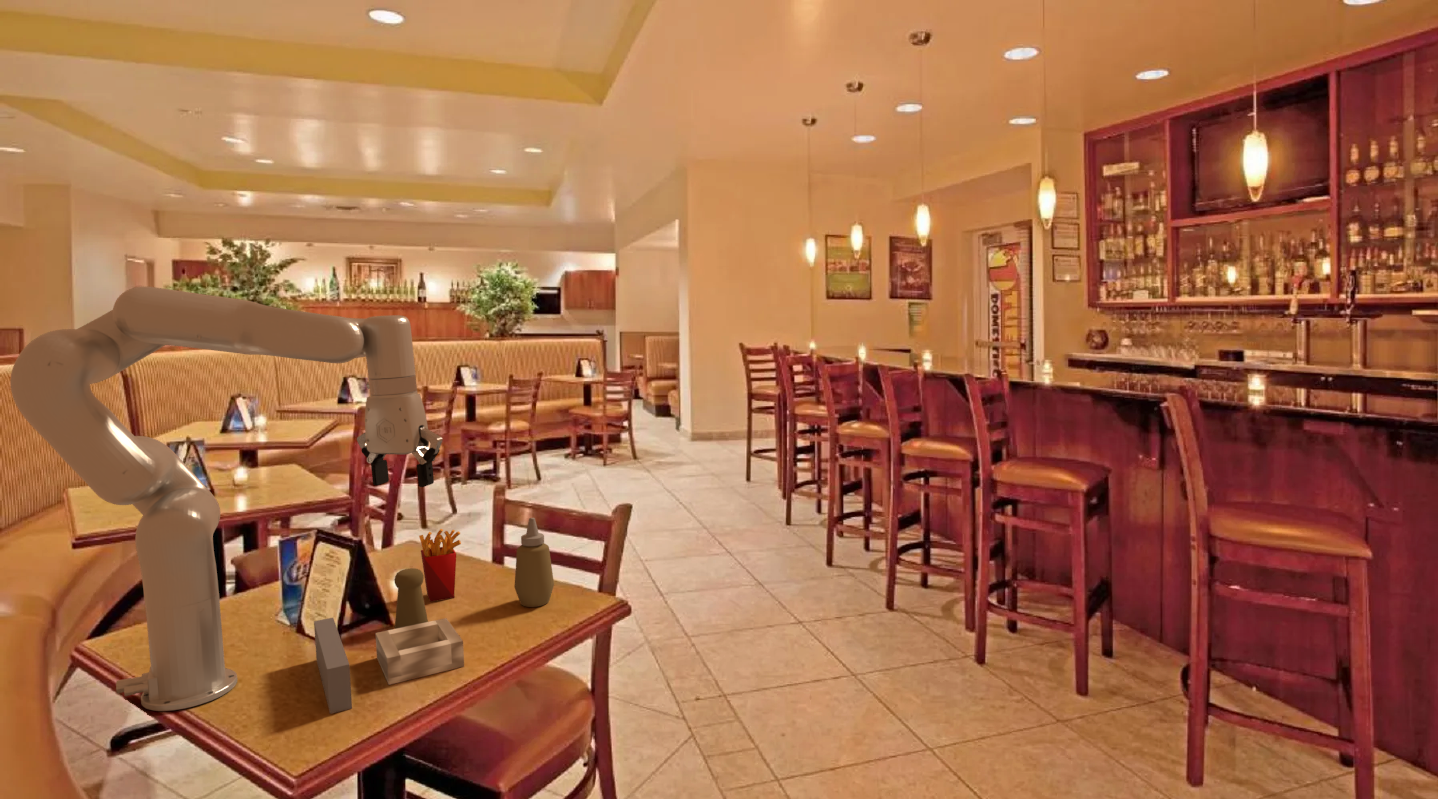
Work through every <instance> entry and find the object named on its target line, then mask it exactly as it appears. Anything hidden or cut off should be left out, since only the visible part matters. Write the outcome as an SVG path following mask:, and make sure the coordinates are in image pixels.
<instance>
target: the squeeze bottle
mask: <svg viewBox="0 0 1438 799" xmlns="http://www.w3.org/2000/svg"><path fill="white" fill-rule="evenodd" d="M520 543H521V545H519V546H518V547H517V548H516V557H515V559H516V560H515V572H514V573H515V575H514V591H515V592H516V595H517V598H518V600H519V603H520V605H521V606H523V607H527V608H532V607H533V608H534V607H541V606H544V605H546V604H548V603H549V601H551V600H550V599H551V597H552V593H553V589H554V587H555V582H554V575H553V574H554V573H553V568H552V566H553V565H552V559H551V553H550V552H551V551H550V546H549V545H548V544H546V543H545V534H544V533H541V532H539V529H538V525H537V522H536V518H535V517H530V518H528V524H527V527H526V533H525V534H522V535H521V536H520Z"/></svg>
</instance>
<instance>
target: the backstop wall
mask: <svg viewBox="0 0 1438 799" xmlns="http://www.w3.org/2000/svg"><path fill="white" fill-rule="evenodd" d="M313 627H314V628H313V629H314V642H315V655H316V656H315V658H316V663H317V667H318V671H319V674H320V679H321V683H322V687H323V692H324V694H325V695H324V696H325V699H326V702H327V703H326V704H327V707H328V711H329V714H330V715H331V714H335V713H339V712H344V711H347V710H351V709H352V708H353V702H352V701H353V700H352V683H351V670H350V667H351V666H350V663H349V659H348V655H347V654H346V651H345V648H344V645H343V643H342V639H341V637H340V634H339V630H338V627H337V625H336V621H335V619H334V617H329V618H324V619H318V620H314V621H313Z"/></svg>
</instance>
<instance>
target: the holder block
mask: <svg viewBox="0 0 1438 799" xmlns="http://www.w3.org/2000/svg"><path fill="white" fill-rule="evenodd" d="M375 645H376V646H375V647H376V648H375V649H376V659H377V661H378V664H379V665H380V669H381V670H382V672H383V675H384V677H385V680H386V681H387V684H388V685H394V684H398V683H402V682H406V681H410V680H414V679H418V678H421V677H426V676H430V675H434V674H438V673H443V672H446V671H450V670H454V669H459V668H462V667H465V654H464V653H465V652H464V640H463V639H462V638H461V636H460V635H459V633H458V632H457V631H456V629H455V627H453V624H451V622H450V621H449V620H448V618H446V617H445V618H440V619H437V620H436V619H435V620H432V621H431V620H430V621H428V622H426V623H421V624H416V625H411V626H407V627H402V628H397V629H395V628H394V629H392V628H391V629H388V630H382V631H378V632H375Z"/></svg>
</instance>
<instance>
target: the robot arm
mask: <svg viewBox="0 0 1438 799" xmlns="http://www.w3.org/2000/svg"><path fill="white" fill-rule="evenodd" d="M165 346H174V347H183V348H191V349H192V348H193V349H201V350H209V351H216V352H224V353H225V352H226V353H231V354H232V353H233V354H240V355H241V354H242V355H247V356H248V355H249V356H250V355H259V356H269V357H277V358H278V357H279V358H286V359H288V358H289V359H295V360H302V361H303V360H304V361H310V362H311V361H313V362H322V363H328V364H329V363H330V364H344V363H345V364H346V363H348V362H351V361H353V360H355V359H359V358H364V357H365V359H366V360H365V361H366V369H367V377H368V381H367V382H366V385H365V386H366V388H367V389H368V390H369V394H370V396H367V397H366V400H365V410H364V432H363V433H362V434H360V435H359V436H357V438H356V441H357V443H358V445H359V448H360V449H361V453H362V454H363V455H364V457H365V458H366V462H367V463H368V464H370V468H371V476H372V477H371V478H372V485H373V486H375V487H377V486H381V485H383V484H387V483H389V481H390V479H389V478H390V476H389V471H388V470H389V468H388V462H387V459H385V457H386V455H411V454H412V455H413V457H414V458H415V459H416V460H417V462H418V464H416V474H417V475H416V476H417V484H418V487H419V488H425V487H427V486H431V485H433V484H434V483H435V479H434V477H435V476H434V470H433V468H434V466H433V462H434V461H435V460H436V457H437V456H438V454H439V453H440V449H441V446H442V443H443V437H442V436H441V435H439V434H438V433H435V432H433V431H432V430H430V429H429V427H428V421H427V415H426V410H425V406H424V403H423V399H422V396H421V394H420V393H418V386H417V385H418V384H417V376H416V365H415V357H414V347H413V335H412V326H411V322H410V320H409V318H408V317H407V316H406V315H405V316H404V315H400V314H395V315H394V314H393V315H390V314H389V315H376V316H374V315H373V316H369V317H366V318H359V317H357V318H355V317H354V318H353V317H346V316H340V315H339V316H337V315H331V314H324V313H323V314H322V313H316V312H309V311H301V310H296V309H295V310H294V309H288V308H282V307H281V308H280V307H275V306H270V305H266V304H262V303H258V302H255V301H253V300H246V299H239V298H232V297H225V296H219V295H218V296H217V295H210V294H206V293H205V294H204V293H196V292H190V291H184V290H183V291H182V290H176V289H169V288H162V287H156V286H155V287H154V286H136V287H135V286H134V287H131V288H129V289H127V290H125V291H124V292H122V293H121V294H119V296H118V297H117V298H116V300H115V302H114V304H113V308H112V310H111V309H110V310H109V311H108V312H106V313H104V314H102V315H101V316H99V317H97V318H95V319H93V320H91V321H90V322H87V323H85V324H84V325H81V326H80V327H78V328H76V329H75V328H68V329H66V328H65V329H63V328H62V329H57V330H52V331H48V332H45V333H43V334H40V335H39V336H38V337H36V338H34V339H33V340H31V341H30V342H28V344H27V345H26V346H24V348H23V349H22V350H21V352H19V355H18V357H17V358H16V359H15V361H14V363H13V367H12V370H11V373H10V374H11V375H10V381H9V382H10V392H11V396H12V399H13V401H14V403H15V406H16V407H17V410H18V411H19V412H20V414H21V415H22V416H23V418H24V419H25V420H26V421H27V423H29V425H30V426H31V427H32V428H33V429H34V430H35V431H36V432H37V433H38V435H40V436H41V437H42V438H43V439H44V440H45V441H46V442H47V444H49V445H50V447H52V449H53V450H54V451H55V452H56V453H57V454H58V455H59V457H60V458H62V460H63V461H64V462H65V463H66V464H67V466H69V467H70V468H71V469H72V470H73V471H74V472H75V473H76V475H78V477H79V478H81V479H82V481H83V482H85V484H87V486H88V487H89V488H90V489H91V490H92V491H93V492H94V493H95V494H96V495H97V496H98V497H99V498H100V499H102V500H103V501H105V502H106V503H110V504H112V505H116V506H129V505H133V507H134V508H135V509H137V511H138V512H139V513H140V514H141V515H142V517H141V518H140V520H139V522H138V524H137V527H136V531H135V542H134V543H135V550H136V556H137V560H138V564H139V569H140V573H141V581H142V588H143V599H144V606H145V616H146V627H147V638H148V639H147V640H148V650H149V659H150V660H149V662H150V667H149V671H148V672H144V673H141V676H137V677H132V678H131V677H129V678H124V679H119V680H116V682H115V686H116V687H115V690H116V694H122V693H124V697H128V696H133V695H136V694H140V693H141V696H140V704H141V706H142V707H143V708H145V709H147V710H150V711H156V712H166V711H167V712H169V711H178V710H185V709H189V708H192V707H196V706H200V705H202V704H206V703H208V702H212V701H213V700H217V699H218V698H220V697H222V696H224V695H225V694H228V692H230V691H231V690H232V689H234V687H235V686H236V685H237V683H238V675H237V672H236V671H234V670H233V669H231V668H230V669H229V668H226V666H225V664H226V662H225V651H224V642H223V641H224V640H223V627H222V616H221V614H222V613H221V602H220V601H221V600H220V593H219V592H220V591H219V580H218V573H217V572H218V571H217V563H216V557H215V551H214V550H215V548H214V537H213V536H214V533H215V531H216V530H217V527H218V525H219V522H220V521H221V520H220V519H221V507H220V504H219V503H218V500H217V499H216V497H215V496H214V494H212V492H211V491H210V489H208V487H206V485H205V484H204V483H203V482H202V481H201V480H200V479H199V478H198V477H197V476H196V474H195V473H194V472H193V471H192V470H191V469H190V468H189V467H188V466H187V464H185V462H184V461H183V460H182V459H181V458H180V457H179V456H178V455H177V453H175V452H174V451H173V449H171V447H168V445H167V444H165V443H164V442H162V441H160V440H158V439H156V438H153V437H149V436H143V435H134V434H133V433H132V432H131V431H130V430H129V429H128V428H127V427H126V426H125V424H123V423H122V422H121V421H120V419H119V418H118V417H117V416H116V415H115V413H113V411H111V409H109V407H108V406H106V405H105V404H104V403H103V402H102V401H101V400H100V399H98V397H96V396H95V394H94V393H93V391H92V389H91V385H93V384H98V383H101V382H103V381H106V380H107V379H111V378H113V377H114V376H116V375H117V374H119V373H121V372H122V371H124V370H126V369H127V368H129V367H131V366H133V365H134V364H136V363H137V362H140V361H141V360H143V359H144V358H146V357H148V356H150V355H151V354H154V353H155V352H156V351H158V350H159V349H161V348H163V347H165Z"/></svg>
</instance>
